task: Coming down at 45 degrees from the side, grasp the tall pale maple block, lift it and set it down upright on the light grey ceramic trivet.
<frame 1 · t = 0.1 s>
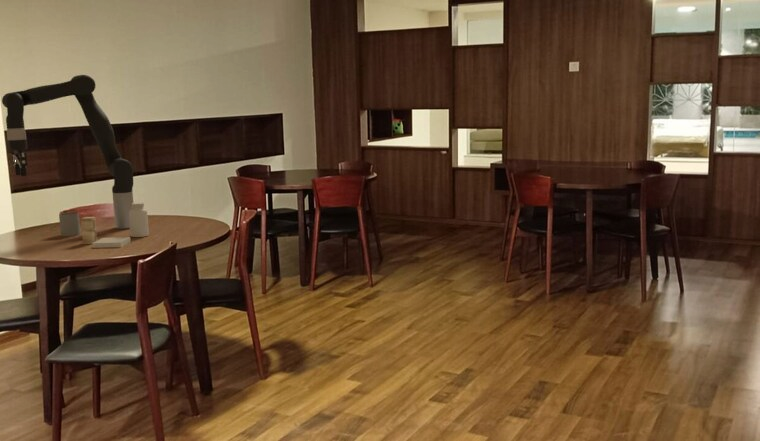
hand: (21, 175, 334), 29 cm above the table, tool pointing down, fingers open, 8 cm apart
trivet: (112, 244, 323), on the table
maple block: (90, 242, 329), on the table
cup: (70, 235, 351), on the table
pill bottle: (139, 236, 343), on the table
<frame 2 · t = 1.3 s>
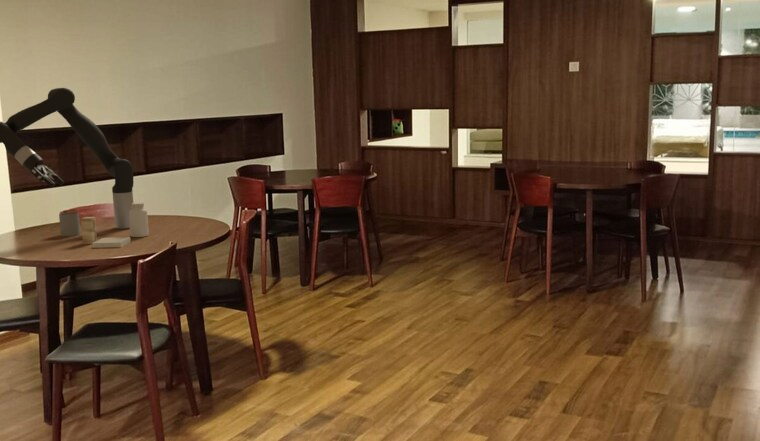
hand: (58, 184, 325), 26 cm above the table, tool tilted 45°, fingers open, 8 cm apart
nothing on the table moved.
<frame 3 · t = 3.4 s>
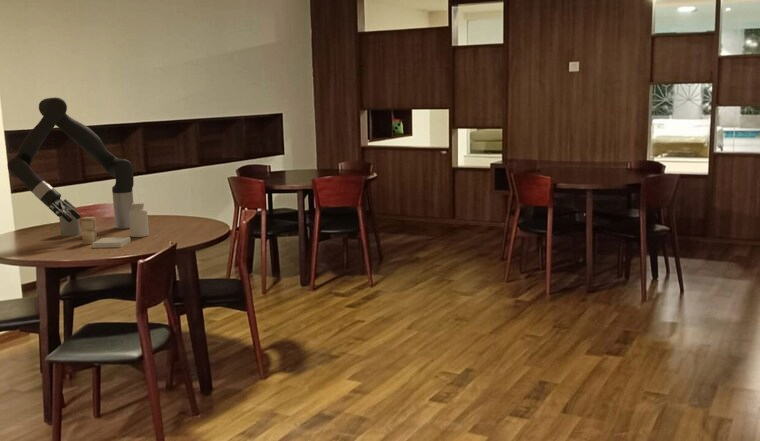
hand: (75, 219, 328), 10 cm above the table, tool tilted 45°, fingers open, 8 cm apart
nothing on the table moved.
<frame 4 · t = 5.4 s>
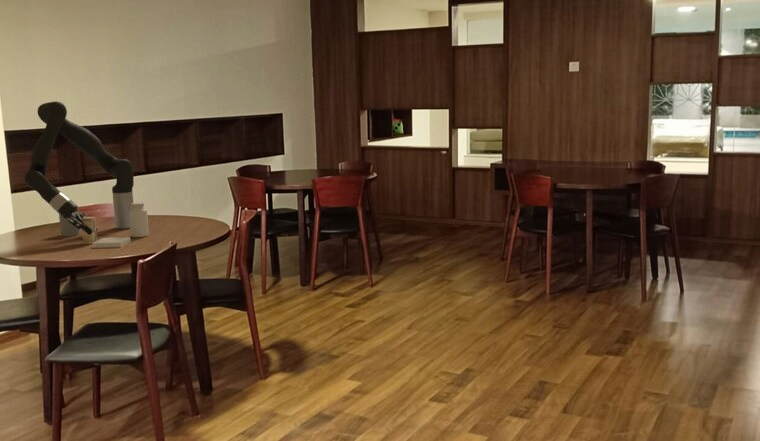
hand: (93, 232, 329), 5 cm above the table, tool tilted 45°, fingers closed on maple block, 4 cm apart
maple block: (90, 242, 329), on the table, touching gripper
everything else where it was.
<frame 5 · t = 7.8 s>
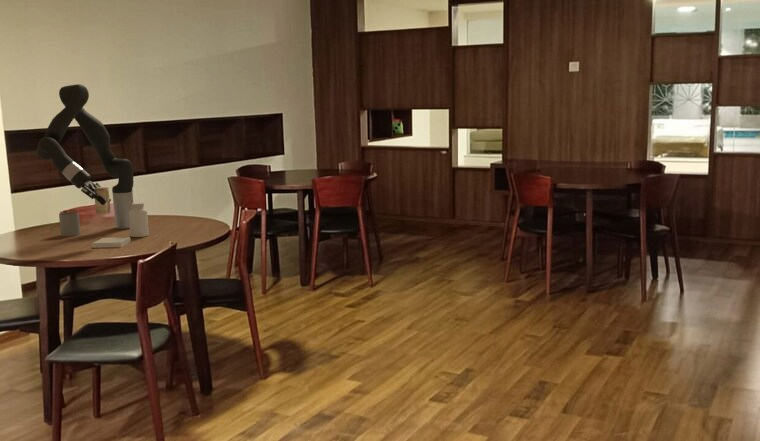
hand: (107, 202, 321), 18 cm above the table, tool tilted 45°, fingers closed on maple block, 4 cm apart
maple block: (103, 213, 322), point 13 cm above the table, touching gripper
everything else where it was.
when the fingers open (8 cm above the table, at t = 10.4 s): maple block drops 1 cm, resting on trivet.
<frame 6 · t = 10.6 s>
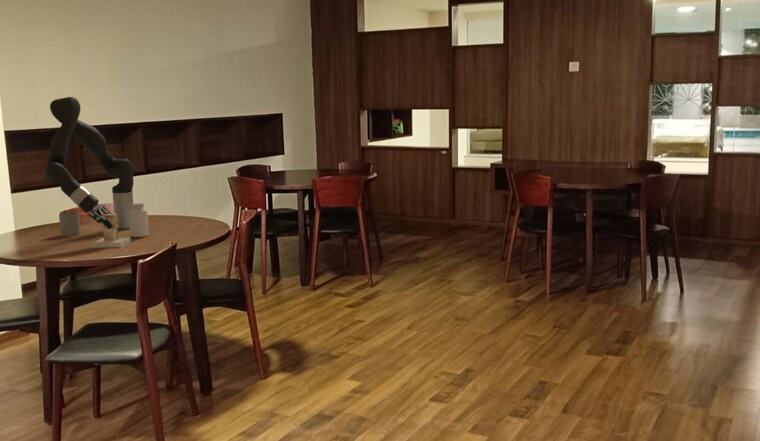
hand: (114, 226, 322), 8 cm above the table, tool tilted 45°, fingers open, 6 cm apart
maple block: (111, 240, 323), point 2 cm above the table, touching trivet
everything else where it was.
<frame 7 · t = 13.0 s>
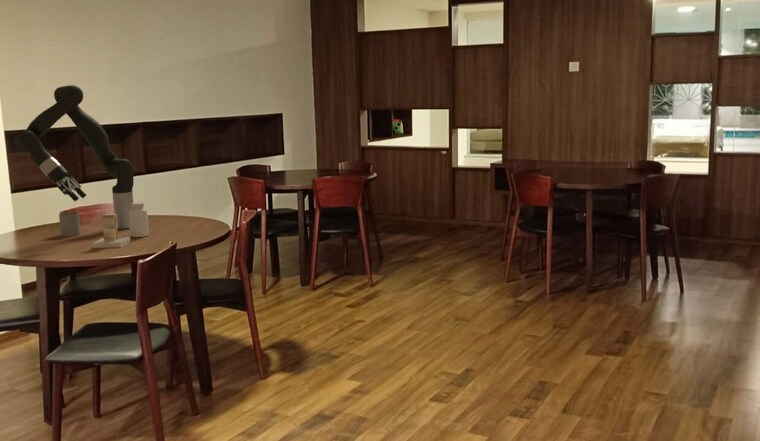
hand: (81, 198, 323), 20 cm above the table, tool tilted 40°, fingers open, 8 cm apart
nothing on the table moved.
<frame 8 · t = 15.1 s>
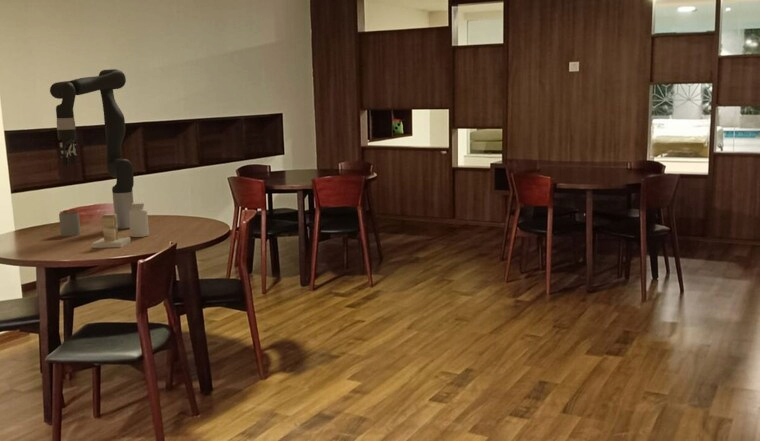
hand: (69, 165, 334), 33 cm above the table, tool pointing down, fingers open, 8 cm apart
nothing on the table moved.
at the end: maple block inside the target area on the trivet (0.1 cm from its centre), point 2.0 cm above the trivet's base; maple block tilted 0°; the gripper is holding nothing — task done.
